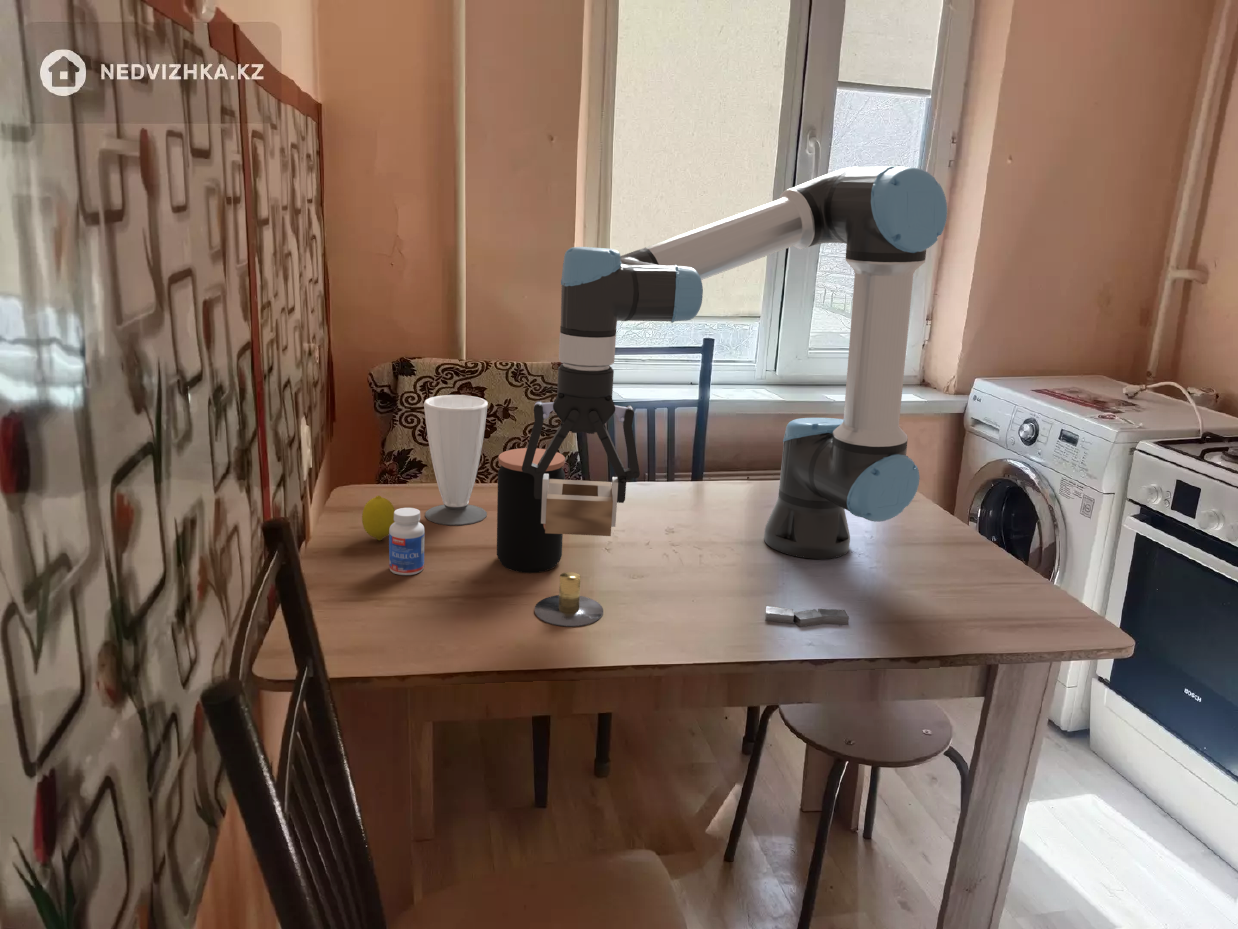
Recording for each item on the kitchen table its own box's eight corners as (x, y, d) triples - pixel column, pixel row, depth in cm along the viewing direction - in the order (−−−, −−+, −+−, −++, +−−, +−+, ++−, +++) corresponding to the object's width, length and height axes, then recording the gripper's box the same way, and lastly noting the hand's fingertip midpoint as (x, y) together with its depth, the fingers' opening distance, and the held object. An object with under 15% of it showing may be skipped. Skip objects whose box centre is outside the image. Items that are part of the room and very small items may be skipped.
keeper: (602, 597, 139) (604, 564, 137) (603, 627, 129) (605, 592, 128) (536, 595, 138) (537, 561, 137) (532, 625, 129) (533, 589, 127)
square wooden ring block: (609, 514, 134) (611, 481, 133) (610, 536, 126) (612, 501, 124) (548, 511, 134) (549, 478, 132) (545, 533, 125) (546, 498, 124)
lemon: (356, 542, 155) (354, 497, 153) (376, 532, 160) (375, 488, 158) (383, 548, 153) (382, 503, 151) (402, 537, 158) (402, 494, 156)
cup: (481, 503, 177) (482, 394, 171) (492, 523, 167) (493, 408, 161) (421, 506, 174) (419, 395, 167) (428, 527, 163) (427, 409, 157)
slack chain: (843, 616, 137) (844, 608, 137) (850, 628, 133) (851, 621, 133) (762, 613, 136) (763, 605, 136) (767, 625, 132) (768, 618, 132)
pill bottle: (387, 576, 142) (386, 517, 139) (390, 563, 147) (389, 505, 144) (423, 576, 143) (423, 517, 140) (425, 562, 148) (425, 505, 145)
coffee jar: (551, 578, 145) (555, 469, 140) (487, 569, 147) (488, 462, 142) (568, 554, 155) (572, 451, 150) (508, 546, 157) (510, 445, 152)
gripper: (664, 364, 127) (652, 516, 134) (507, 355, 126) (503, 509, 133) (668, 374, 120) (656, 534, 127) (503, 365, 119) (499, 527, 126)
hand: (578, 521), depth 130 cm, fingers closed on square wooden ring block, 9 cm apart
